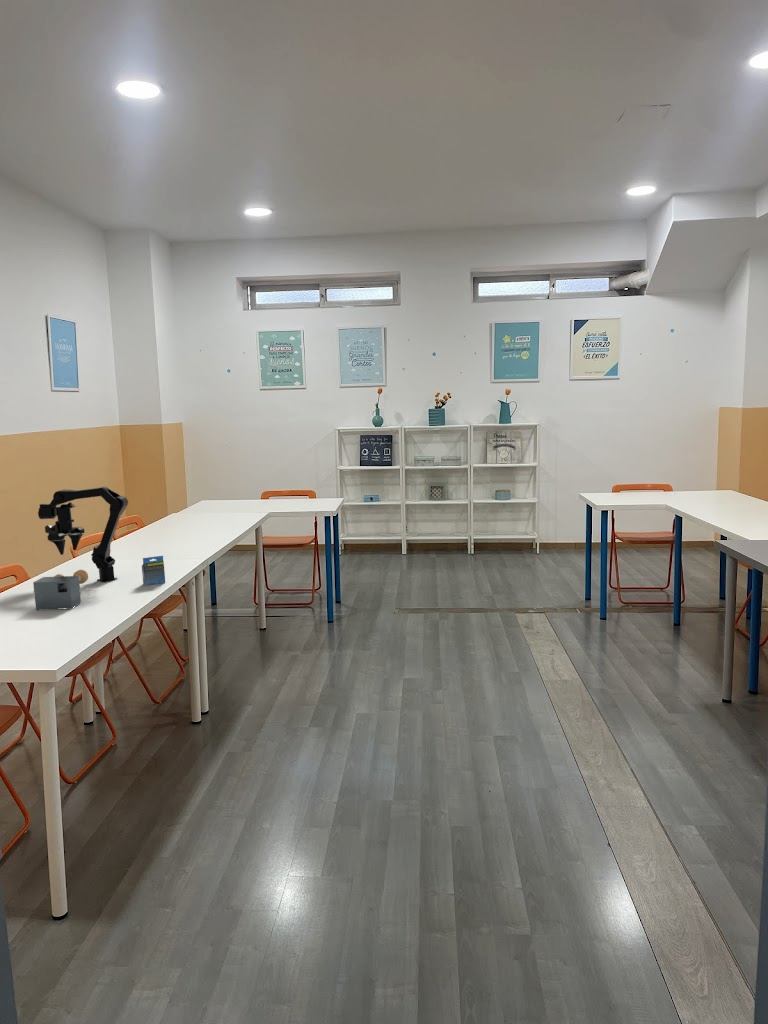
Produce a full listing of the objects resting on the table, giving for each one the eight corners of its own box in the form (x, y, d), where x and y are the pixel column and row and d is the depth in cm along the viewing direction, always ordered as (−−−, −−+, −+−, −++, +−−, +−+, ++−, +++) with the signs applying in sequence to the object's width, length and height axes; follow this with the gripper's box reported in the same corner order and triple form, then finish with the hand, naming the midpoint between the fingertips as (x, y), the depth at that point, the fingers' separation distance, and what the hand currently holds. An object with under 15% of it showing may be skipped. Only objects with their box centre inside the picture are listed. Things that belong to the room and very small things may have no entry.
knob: (75, 583, 308) (74, 569, 308) (88, 582, 309) (87, 569, 308) (59, 592, 293) (58, 578, 292) (73, 592, 293) (72, 578, 292)
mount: (50, 601, 303) (47, 574, 302) (85, 599, 303) (82, 573, 302) (36, 610, 290) (33, 582, 289) (72, 608, 291) (69, 581, 289)
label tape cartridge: (163, 581, 332) (161, 554, 330) (165, 583, 328) (163, 555, 327) (142, 584, 328) (140, 556, 326) (144, 585, 324) (142, 558, 322)
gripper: (61, 515, 343) (65, 548, 346) (34, 521, 325) (38, 557, 328) (83, 514, 341) (86, 548, 343) (57, 521, 323) (61, 557, 325)
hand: (68, 552), depth 335 cm, fingers open, 9 cm apart
